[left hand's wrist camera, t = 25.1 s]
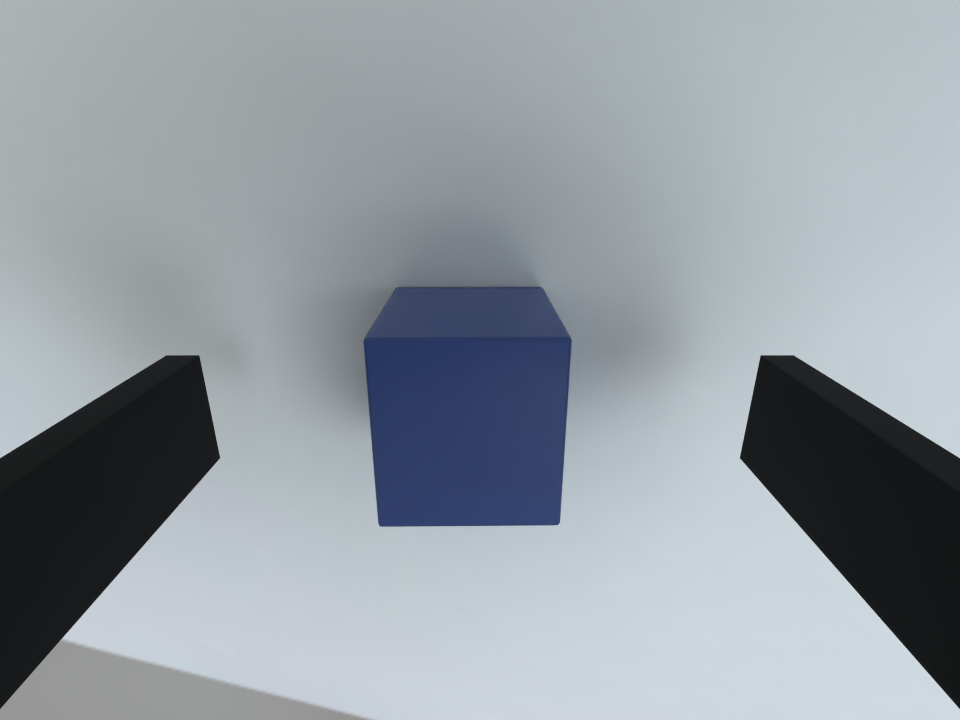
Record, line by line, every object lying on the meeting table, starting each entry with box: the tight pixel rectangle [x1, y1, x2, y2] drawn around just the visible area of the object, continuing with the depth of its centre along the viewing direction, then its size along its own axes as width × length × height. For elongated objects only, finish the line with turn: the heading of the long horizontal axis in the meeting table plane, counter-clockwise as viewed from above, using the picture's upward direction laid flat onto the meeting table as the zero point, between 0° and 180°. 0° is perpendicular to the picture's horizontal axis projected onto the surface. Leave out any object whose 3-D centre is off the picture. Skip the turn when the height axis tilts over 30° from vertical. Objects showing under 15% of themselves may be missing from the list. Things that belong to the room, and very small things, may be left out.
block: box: [364, 287, 572, 527], centre depth 13 cm, size 4×5×5 cm
